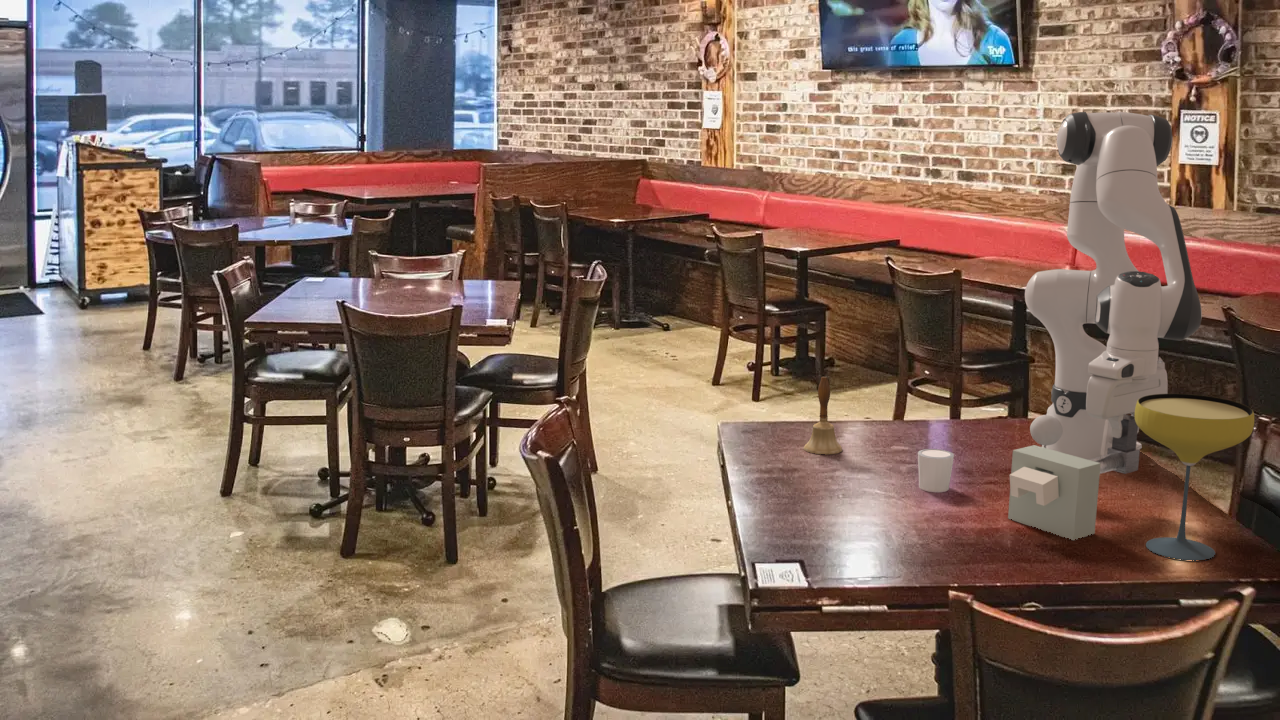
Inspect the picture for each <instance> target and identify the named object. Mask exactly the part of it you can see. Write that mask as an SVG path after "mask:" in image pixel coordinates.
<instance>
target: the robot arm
mask: <svg viewBox="0 0 1280 720" xmlns="http://www.w3.org/2000/svg"><path fill="white" fill-rule="evenodd" d="M1172 129H1173V128H1172V126H1171V123H1169V120H1168V119H1166V118H1164V117H1162V116H1160V115H1159V116H1158V115H1155V114H1148V115H1146V114H1141V113H1136V112H1135V113H1133V112H1129V111H1128V112H1127V111H1125V112H1124V111H1116V112H1110V111H1107V112H1103V111H1102V112H1088V113H1087V112H1086V111H1080V112H1074V113H1070V114H1068V115H1067V116H1066V117H1064V119H1063V120H1062V121H1061V123H1060V126H1059V128H1058V130H1057V134H1056V135H1057V136H1056V146H1057V150H1058V151H1057V152H1058V155H1059V158H1061V159H1062V160H1063V162H1066V163H1069V164H1072V165H1075V166H1076V169H1075V173H1074V175H1073V180H1072V186H1071V190H1070V198H1069V208H1068V219H1067V220H1068V221H1067V228H1066V229H1067V231H1066V232H1067V233H1066V236H1067V237H1066V238H1067V240H1068V242H1069V244H1070V245H1071V246H1072V248H1074V249H1076V250H1077V251H1078V252H1081V253H1082V254H1084V255H1086V256H1088V257H1090V258H1091V259H1093V261H1094V262H1095V264H1096V265H1095V266H1096V268H1095V269H1093V270H1083V269H1082V270H1080V269H1067V268H1066V269H1065V268H1064V269H1063V268H1058V269H1057V268H1056V269H1049V270H1041V271H1037V272H1035V273H1034V274H1033V275H1032V276H1031V277H1030V279H1029V280H1028V282H1027V283H1026V286H1025V290H1024V301H1025V304H1026V307H1027V309H1028V311H1029V312H1030V314H1032V316H1033V317H1034V318H1036V319H1037V320H1038V321H1040V322H1041V323H1042V325H1043V326H1044V327H1045V329H1046V330H1047V331H1048V333H1049V335H1050V337H1051V339H1052V342H1053V346H1054V352H1055V373H1054V374H1055V375H1054V384H1053V385H1052V389H1051V391H1050V394H1051V399H1050V400H1051V402H1052V404H1051V405H1049V406H1048V408H1047V410H1046V415H1051V416H1053V417H1055V418H1057V419H1058V420H1059V422H1060V423H1061V425H1062V428H1063V433H1062V436H1061V438H1060V439H1059V440H1058V441H1057V442H1056V443H1054V444H1052V445H1046V448H1047V449H1050V450H1054V451H1058V452H1061V453H1065V454H1069V455H1072V456H1076V457H1080V458H1083V459H1087V460H1089V459H1093V458H1096V457H1100V456H1104V455H1107V451H1108V448H1109V447H1112V440H1113V437H1115V438H1121V437H1124V432H1125V428H1122V424H1121V420H1123V415H1129V414H1131V415H1130V416H1133V417H1135V407H1136V403H1137V401H1138V399H1140V398H1141V397H1144V396H1148V395H1154V394H1168V387H1169V386H1168V385H1169V384H1168V373H1167V370H1166V365H1165V364H1166V363H1165V362H1164V361H1163V359H1162V358H1161V357H1160V356H1159V348H1160V347H1159V345H1160V344H1159V340H1158V338H1159V339H1164V340H1169V341H1170V340H1172V341H1180V342H1181V341H1184V340H1185V339H1188V338H1189V337H1190V336H1192V335H1194V333H1196V332H1197V331H1198V330H1199V329H1200V327H1201V323H1202V318H1203V313H1202V312H1203V310H1202V304H1201V300H1200V297H1199V294H1198V291H1197V288H1196V285H1195V282H1194V278H1193V273H1192V272H1193V271H1192V267H1191V263H1190V259H1189V258H1190V257H1189V255H1188V249H1187V244H1186V239H1185V235H1184V231H1183V227H1182V224H1181V220H1180V216H1179V214H1178V212H1177V209H1176V208H1175V207H1174V206H1171V205H1170V204H1169V203H1167V202H1166V200H1165V199H1164V197H1163V195H1162V194H1161V192H1160V190H1159V189H1160V188H1159V184H1158V167H1159V166H1160V165H1161V164H1163V163H1164V162H1165V161H1166V160H1167V159H1168V158H1169V154H1170V152H1171V149H1172V146H1173V138H1174V137H1173V130H1172ZM1125 231H1128V232H1132V233H1135V234H1137V235H1139V236H1141V237H1144V238H1146V239H1148V240H1149V241H1151V242H1152V243H1153V244H1154V245H1156V247H1157V248H1158V249H1159V252H1160V255H1161V258H1162V263H1163V265H1162V266H1163V269H1164V273H1165V279H1166V283H1167V285H1164V286H1162V284H1161V283H1162V282H1161V279H1160V278H1159V276H1156V275H1154V274H1153V273H1149V272H1146V271H1139V270H1138V269H1137V267H1135V265H1134V263H1133V262H1132V260H1131V258H1130V257H1129V254H1128V251H1127V247H1126V242H1125V240H1126V239H1125ZM1084 324H1095V325H1096V326H1097V327H1098V328H1099V329H1100V330H1101V331H1102V332H1104V333H1105V334H1109V336H1108V338H1107V342H1106V345H1104V343H1102V342H1100V341H1099V340H1097V339H1096V338H1094V337H1091V336H1090V335H1088V334H1087V333H1086V331H1085V329H1084V326H1083V325H1084ZM1139 430H1140V428H1139V427H1138V431H1137V434H1138V433H1139V432H1140V431H1139ZM1041 447H1043V448H1044V445H1041ZM1136 449H1140V450H1141V449H1142V443H1141V442H1139V441H1137V442H1136Z"/></svg>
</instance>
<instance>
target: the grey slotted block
mask: <svg viewBox="0 0 1280 720" xmlns="http://www.w3.org/2000/svg"><path fill="white" fill-rule="evenodd" d="M1011 456H1012V457H1011V458H1012V459H1011V473H1010V474H1012V473H1013V472H1015V471H1017V470H1019V469H1021V468H1023V467H1027V468H1031V469H1034V470H1037V471H1041V472H1043V471H1047V470H1049V471H1052V472H1054V473H1053V475H1055V476H1058V491H1059V498H1057V499H1055V500H1054V501H1052V502H1050V503H1048V504H1047V505H1045V506H1043V505H1040V504H1037V503H1036V493H1034V492H1031V491H1029V492H1028V493H1026V494H1024V495H1022V496H1021V497H1019V498H1018V497H1014V496H1011V490H1010V489H1009V498H1008V501H1009V502H1008V514H1007V515H1008V516H1007V519H1009V520H1011V519H1012V521H1014V522H1016V523H1020V524H1023V525H1026V526H1028V527H1031V526H1032V527H1031V528H1034V527H1036V528H1035V529H1037V528H1038V530H1040V529H1041V530H1042V531H1043V532H1046V531H1047V533H1049V532H1051V533H1050V534H1052V533H1053V534H1052V535H1055V534H1056V536H1058V535H1059V537H1062V538H1064V537H1065V539H1067V538H1069V539H1068V540H1070V539H1071V541H1076V540H1079V539H1078V538H1080V539H1081V538H1082V537H1083V538H1086V537H1088V535H1089V536H1092V535H1095V533H1096V522H1097V521H1096V520H1097V511H1098V509H1097V507H1098V496H1099V486H1100V477H1101V474H1100V464H1101V463H1098V462H1094V461H1091V460H1087V459H1083V458H1080V457H1076V456H1072V455H1069V454H1065V453H1061V452H1058V451H1054V450H1050V449H1047V448H1043V447H1042V446H1038V445H1035V444H1033V445H1028V446H1025V447H1021V448H1020V447H1019V448H1017V449H1013V450H1012V455H1011ZM1091 534H1092V535H1091ZM1083 538H1082V539H1083ZM1075 539H1076V540H1075Z"/></svg>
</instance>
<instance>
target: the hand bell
mask: <svg viewBox="0 0 1280 720" xmlns="http://www.w3.org/2000/svg"><path fill="white" fill-rule="evenodd" d="M817 396H818V397H817V398H818V401H819V421H818V422H817V423H814V424H813V426H812V430H811V431H812V432H811V436H810V438H809V440H808V441H807V443H805V445H804V446H803V451H805V452H806V451H807V453H809V452H810V453H809V454H813V453H815V454H814V455H821V454H825V455H826V456H827V455H836V454H839V453H841V452H843V446H841V444H839V442H838V440H837V438H836V433H835V426H834V424H832V423H830V422H829V419H828V416H829V415H828V404H829V402H830V398H831V386H830V381H829V379H828V376H821V378H820V381H819V384H818V388H817ZM825 455H824V456H825Z"/></svg>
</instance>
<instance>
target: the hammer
mask: <svg viewBox="0 0 1280 720" xmlns="http://www.w3.org/2000/svg"><path fill="white" fill-rule="evenodd" d="M1121 424H1122V428H1125V432H1124V437H1121V438H1115V437H1113V440H1112V447H1109V448H1108V451H1107V455H1104V456H1100V457H1096V458H1093V459H1089V460H1091V461H1094V462H1098V463H1101V464H1100V475H1102V474H1105V473H1108V472H1111V471H1113V472H1116V473H1120V474H1129V473H1133V472H1137V471H1139V465H1140V464H1139V462H1140V450H1141V449H1136V442H1138V433H1137V431H1138V426H1137V424H1136V421H1135V417H1133V416H1131V415H1129V414H1125V415H1123V420H1121ZM1043 472H1044V473H1048V474H1051V475H1053V473H1054V472H1052V471H1049V470H1047V471H1043Z"/></svg>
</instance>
